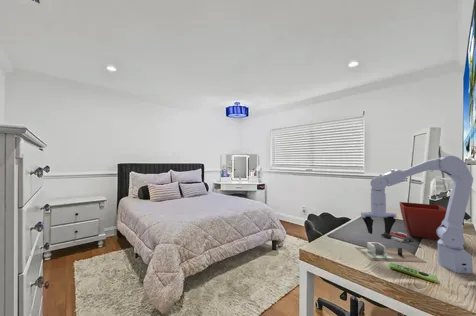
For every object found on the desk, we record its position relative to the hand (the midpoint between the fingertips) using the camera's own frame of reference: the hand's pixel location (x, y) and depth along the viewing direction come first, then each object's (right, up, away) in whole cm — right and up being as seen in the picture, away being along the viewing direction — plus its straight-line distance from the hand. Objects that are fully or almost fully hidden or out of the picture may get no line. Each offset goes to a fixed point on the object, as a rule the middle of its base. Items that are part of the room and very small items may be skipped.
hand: (378, 233), depth 97 cm
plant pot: (+42, -10, +26) cm, 50 cm away
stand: (+2, -9, -3) cm, 10 cm away
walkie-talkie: (+23, -10, +15) cm, 29 cm away
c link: (-3, -8, -2) cm, 9 cm away
